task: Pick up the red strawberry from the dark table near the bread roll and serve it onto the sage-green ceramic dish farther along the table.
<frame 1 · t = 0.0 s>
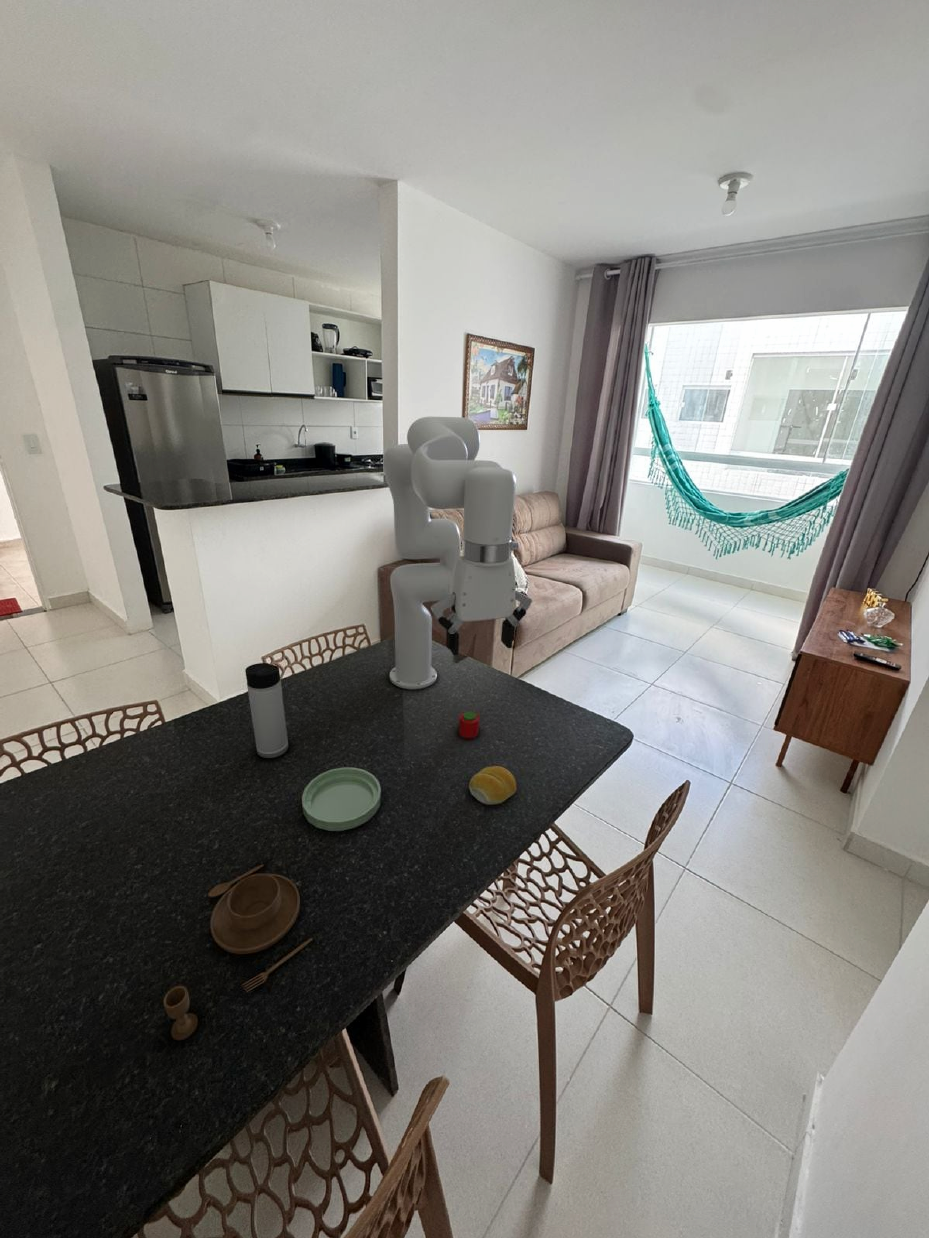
hand: (480, 648, 86), 31 cm above the table, tool pointing down, fingers open, 9 cm apart
dish: (342, 803, 95), on the table
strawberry: (468, 732, 116), on the table
bread roll: (492, 791, 100), on the table
place setting: (230, 938, 71), on the table
travel mug: (272, 750, 108), on the table
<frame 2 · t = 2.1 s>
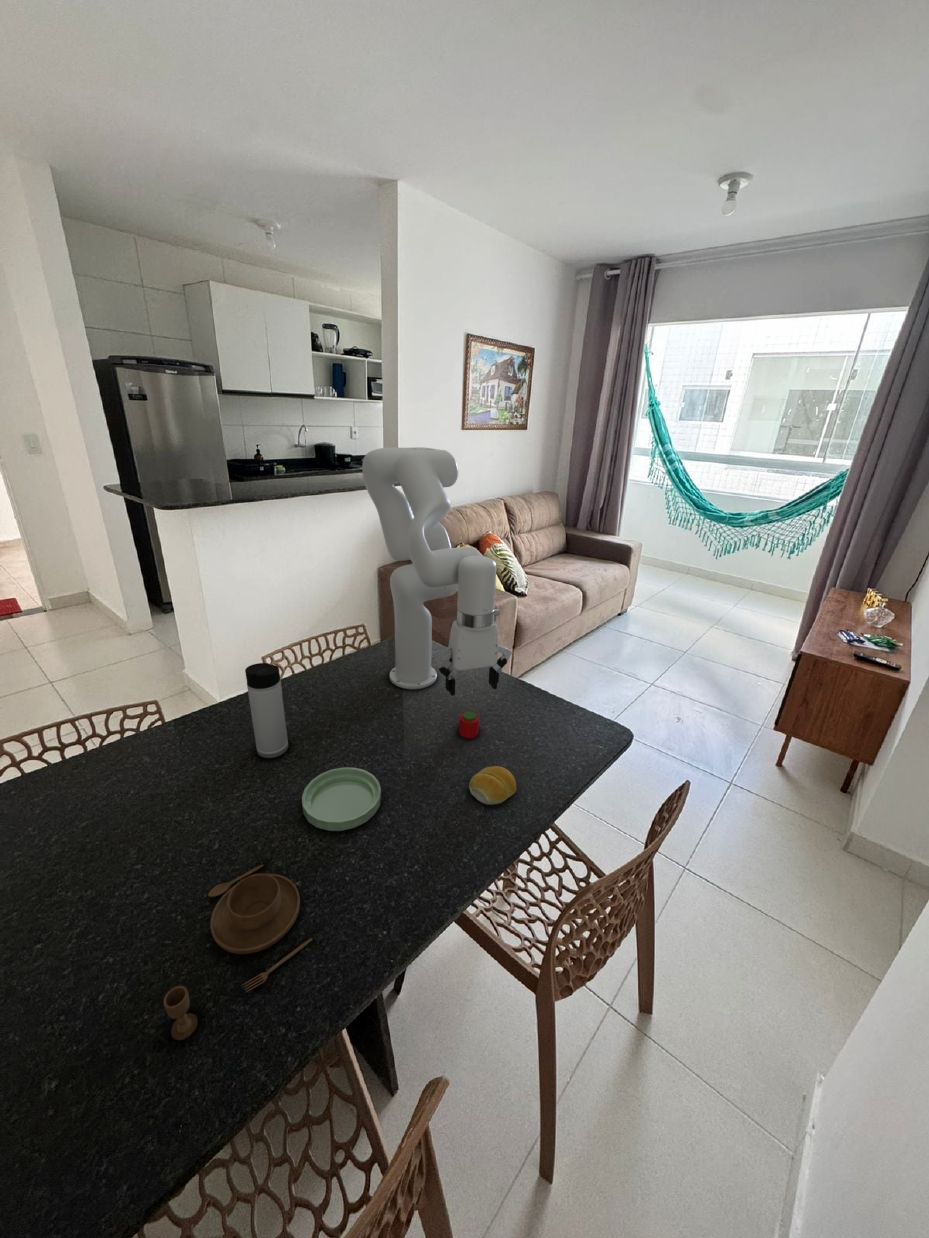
hand: (472, 689, 111), 12 cm above the table, tool pointing down, fingers open, 9 cm apart
nothing on the table moved.
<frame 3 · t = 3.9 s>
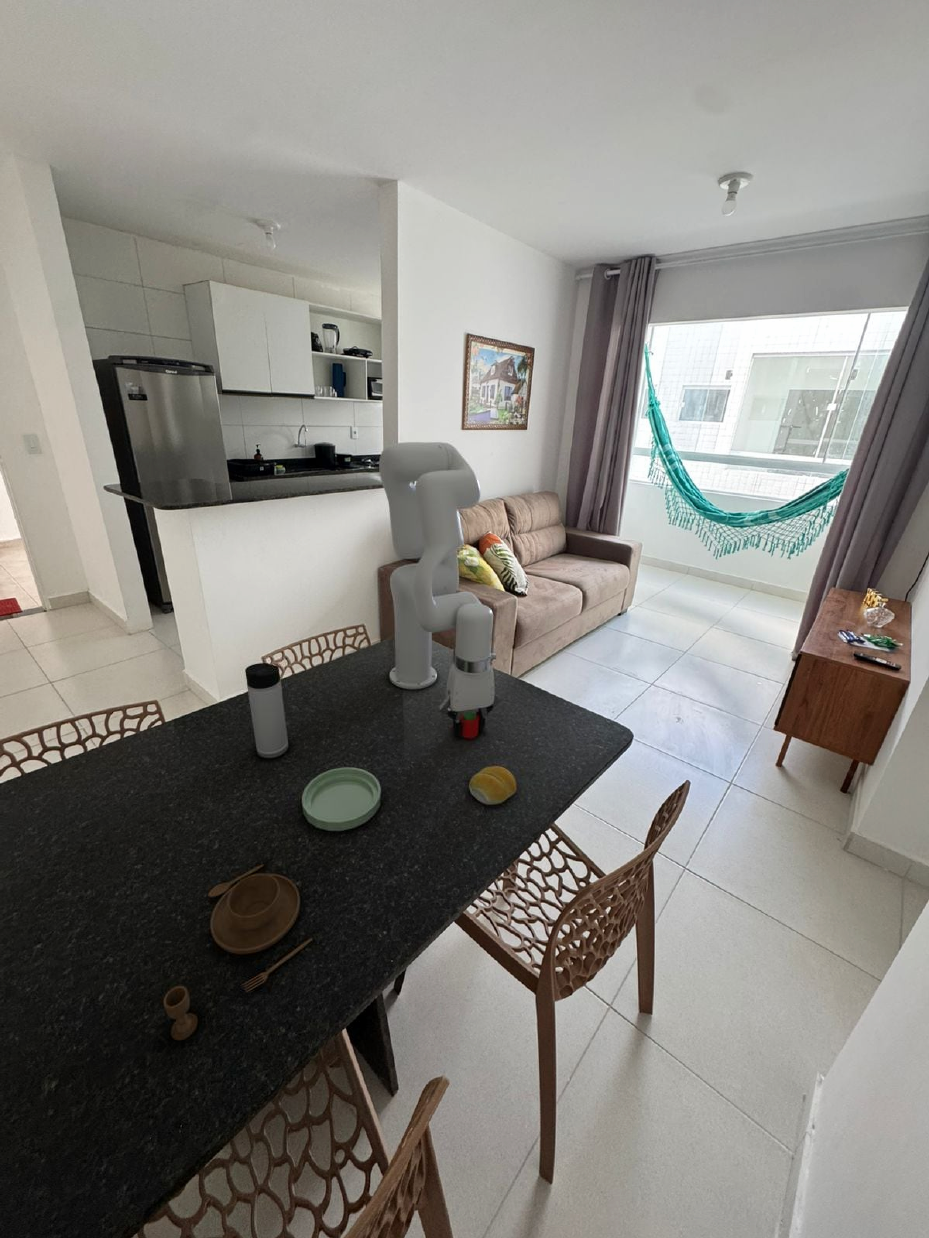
hand: (468, 730, 116), 0 cm above the table, tool pointing down, fingers closed on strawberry, 4 cm apart
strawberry: (468, 732, 116), on the table, touching gripper
everything else where it was.
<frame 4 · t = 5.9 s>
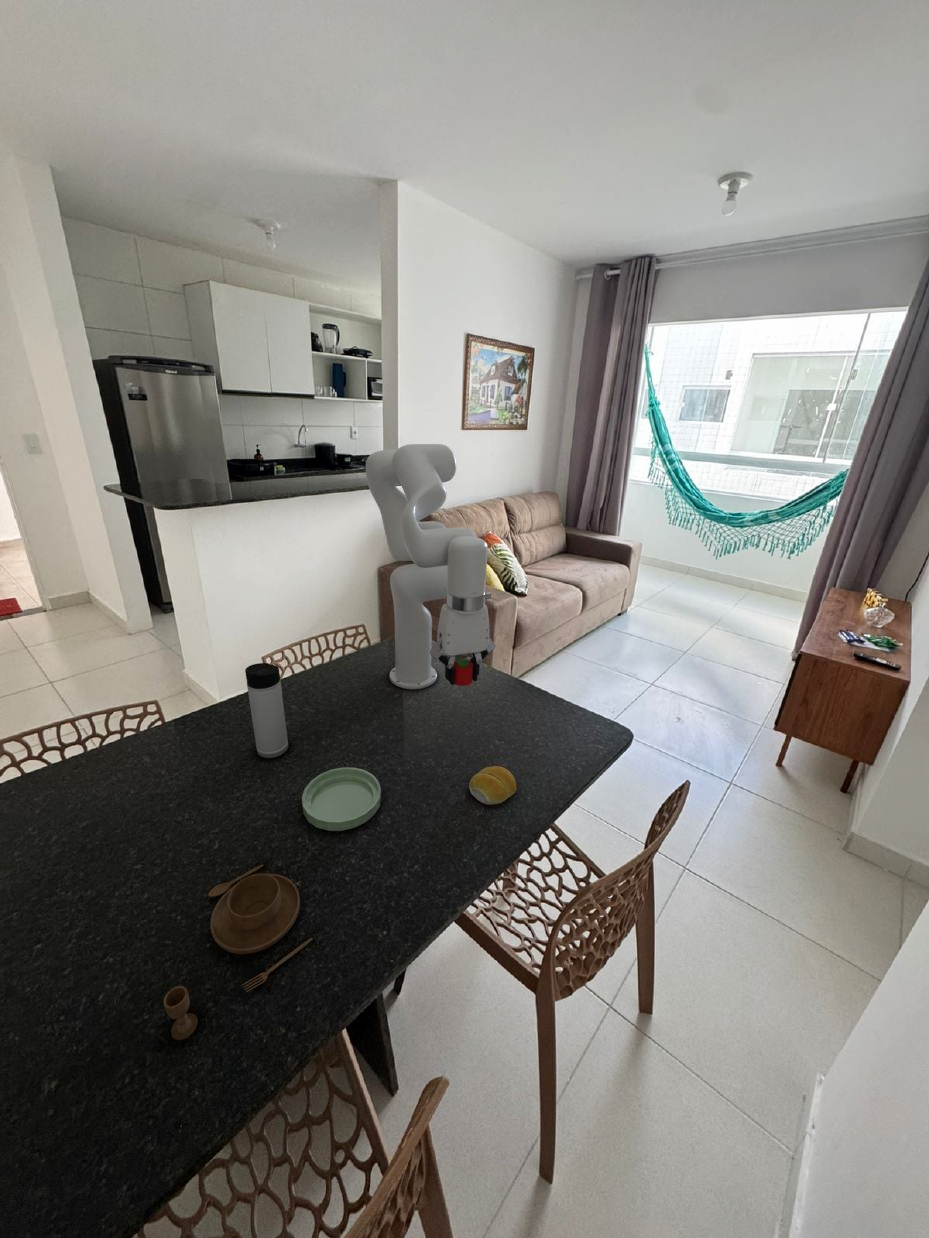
hand: (461, 679, 108), 15 cm above the table, tool pointing down, fingers closed on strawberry, 4 cm apart
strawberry: (461, 680, 108), point 15 cm above the table, touching gripper
everything else where it was.
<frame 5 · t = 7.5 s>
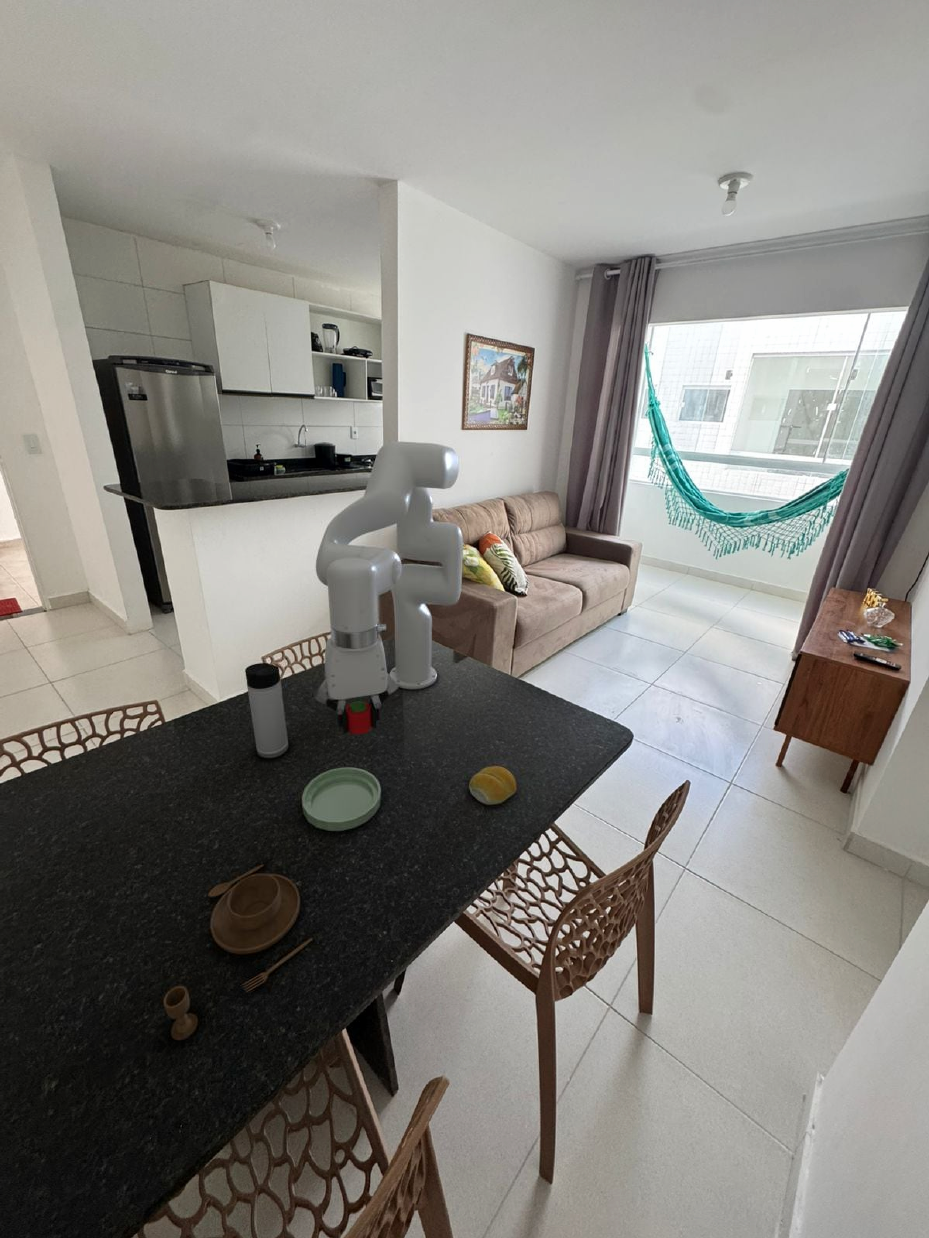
hand: (358, 725, 91), 16 cm above the table, tool pointing down, fingers closed on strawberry, 4 cm apart
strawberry: (359, 726, 91), point 15 cm above the table, touching gripper
everything else where it was.
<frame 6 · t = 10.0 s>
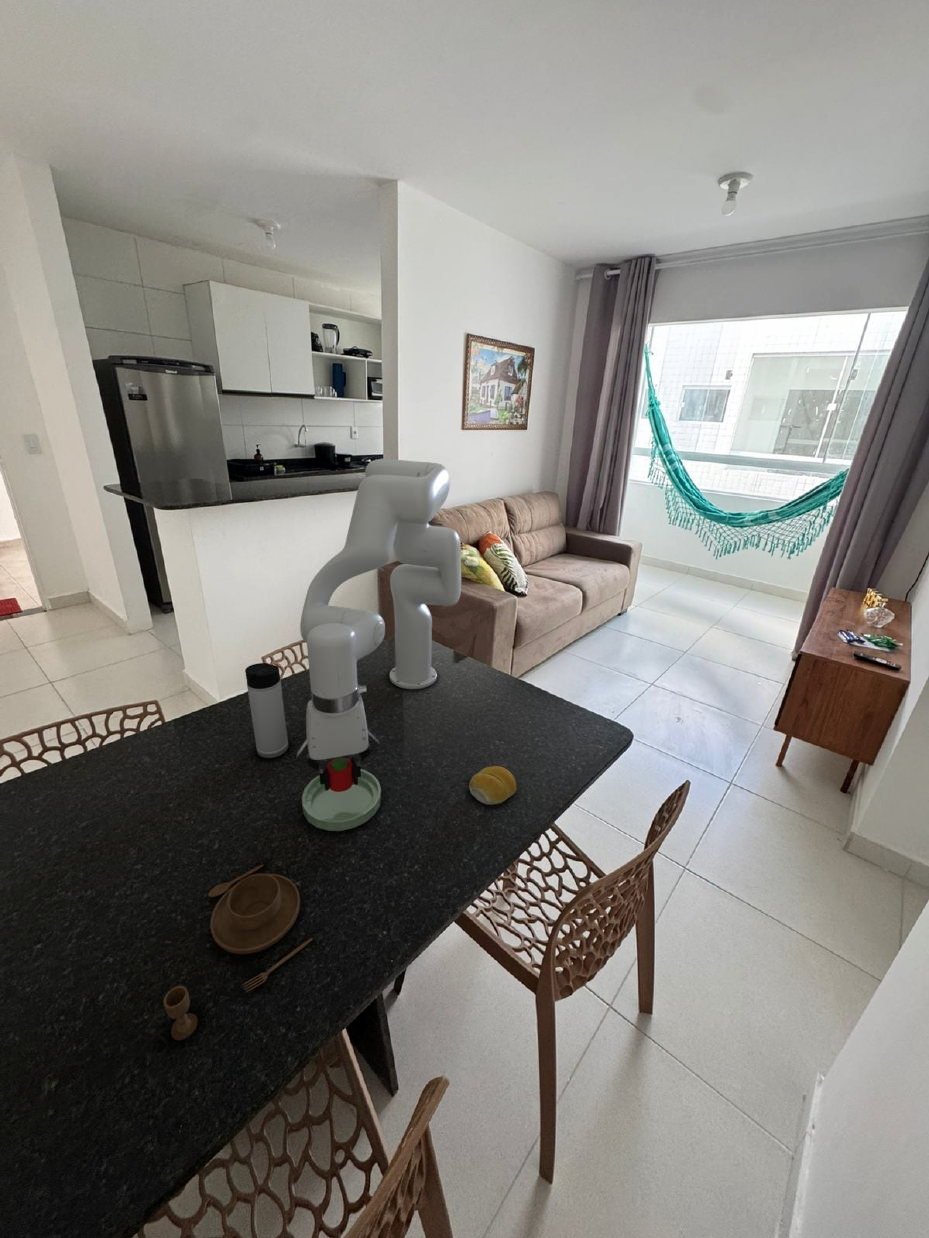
hand: (340, 781, 92), 5 cm above the table, tool pointing down, fingers closed on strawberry, 4 cm apart
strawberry: (340, 783, 92), point 5 cm above the table, touching gripper
everything else where it was.
when the fingers open (1 cm above the table, at t = 11.5 s): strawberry stays where it is, resting on dish.
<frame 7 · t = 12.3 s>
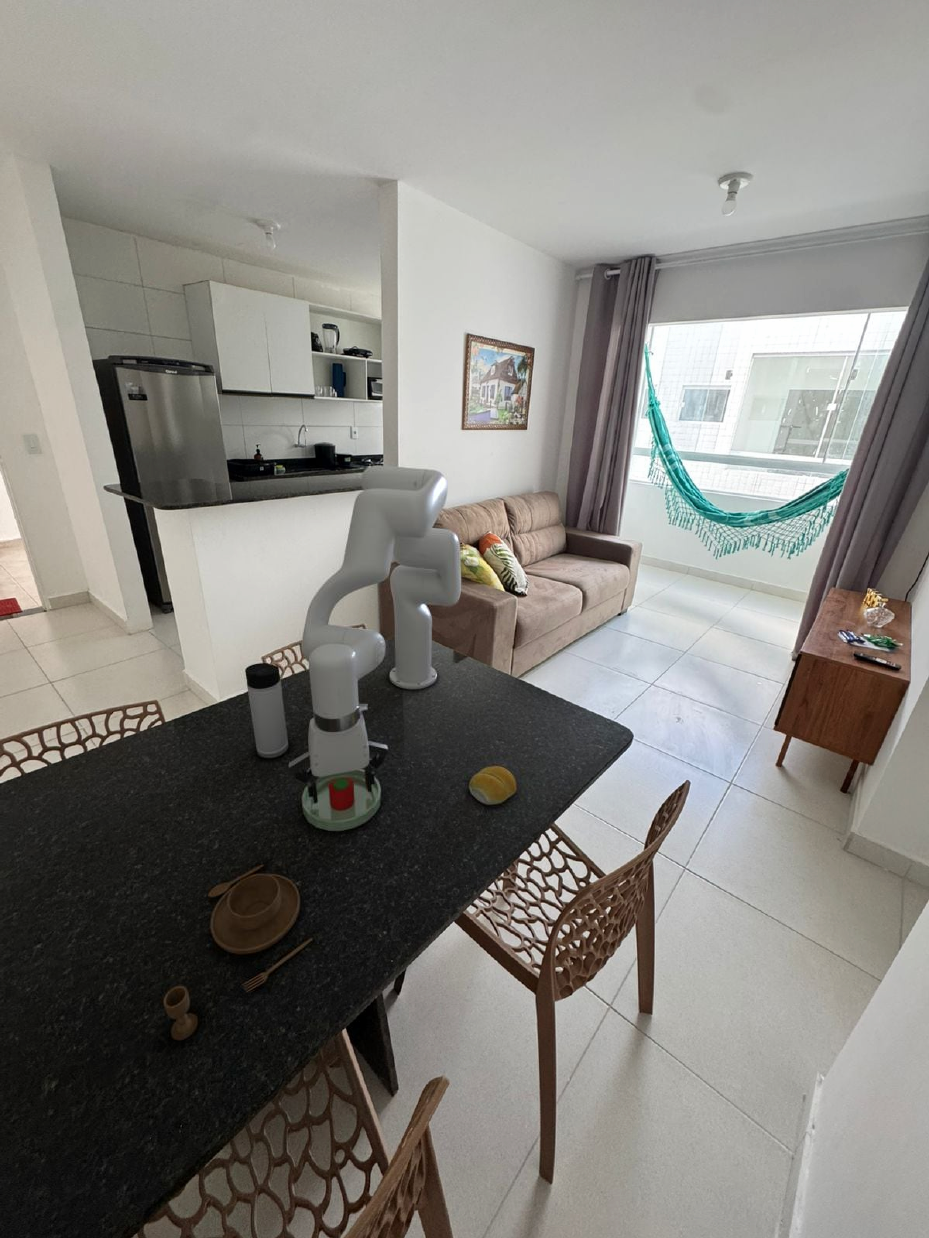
hand: (342, 792, 94), 3 cm above the table, tool pointing down, fingers open, 9 cm apart
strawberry: (342, 801, 94), point 1 cm above the table, touching dish
everything else where it was.
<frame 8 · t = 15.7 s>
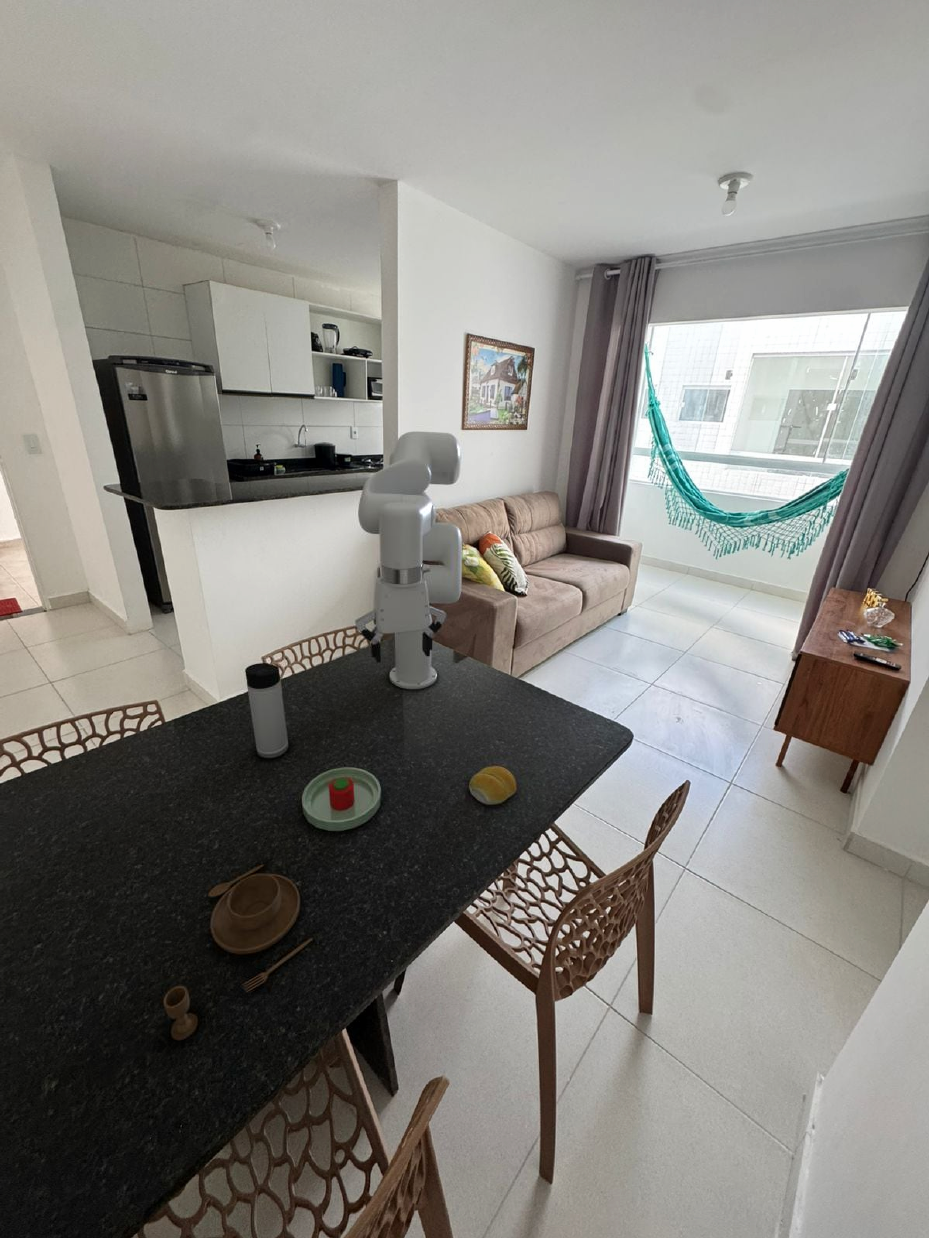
hand: (402, 656, 99), 23 cm above the table, tool pointing down, fingers open, 9 cm apart
nothing on the table moved.
at the end: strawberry inside the target area in the dish (0.2 cm from its centre), point 0.6 cm above the dish's base; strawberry tilted 0°; the gripper is holding nothing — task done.
